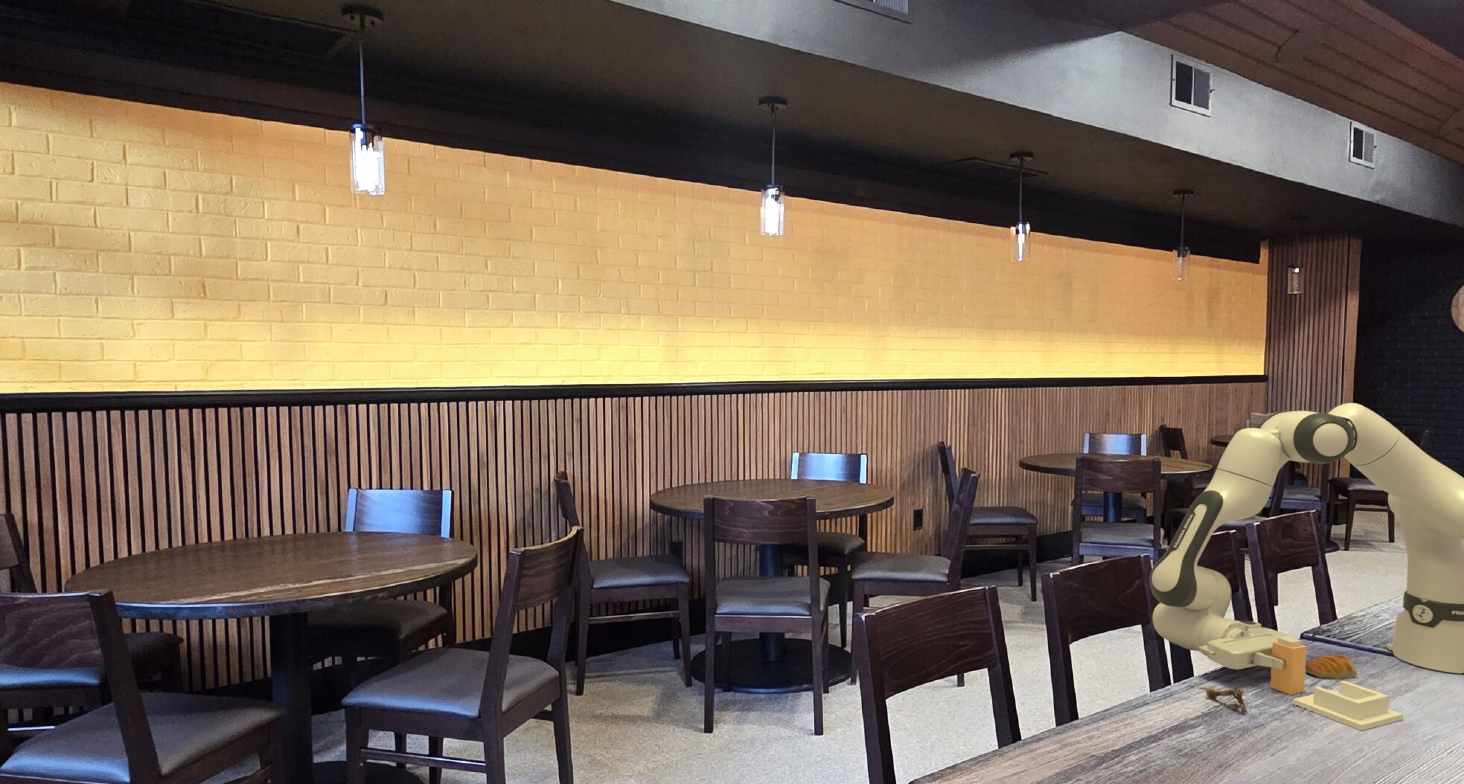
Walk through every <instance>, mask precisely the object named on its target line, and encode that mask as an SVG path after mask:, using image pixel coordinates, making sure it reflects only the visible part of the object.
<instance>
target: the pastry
mask: <svg viewBox="0 0 1464 784" xmlns="http://www.w3.org/2000/svg"><path fill="white" fill-rule="evenodd" d="M1306 673H1308V674H1310V675H1313V676H1315V677H1318V678H1321V679H1329V678H1331V680H1332V679H1333V680H1341V679H1342V680H1343V679H1352V677H1353V678H1355V677H1356V676H1357V675H1358V671H1357V670H1356V667H1355V665H1354V664H1353V661H1352V660H1351V659H1350V658H1349V657H1348V656H1346V655H1343V654H1338V655H1336V654H1332V655H1329V654H1328V655H1320V656H1316V657H1315V658H1314V659H1312V660H1311V661H1309V662H1307V663H1306V666H1305V674H1306Z"/></svg>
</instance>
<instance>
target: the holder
mask: <svg viewBox="0 0 1464 784" xmlns="http://www.w3.org/2000/svg"><path fill="white" fill-rule="evenodd" d="M1389 703H1390V695H1387V694H1385V693H1382V692H1379V691H1375V690H1373V689H1370V688H1366V687H1364V686H1361V685H1358V684H1355V683H1351V682H1349V681H1346V680H1341V681H1340V682H1339V691H1338V690H1335V689H1332V690H1331V689H1330V690H1329V689H1326V688H1323V687H1321V686H1315V687H1314V688H1313V694H1310V695H1306V696H1300V697H1296V698H1293V699H1292V705H1293V704H1294V705H1293V706H1296V705H1298V706H1300V707H1299V708H1301V707H1302V709H1304V708H1306V709H1307V711H1310V712H1311V711H1313V712H1312V713H1315V714H1317V715H1319V714H1320V715H1319V716H1322V717H1324V716H1326V717H1325V718H1327V717H1328V719H1329V720H1332V719H1333V720H1332V721H1336V722H1337V723H1339V724H1340V723H1341V724H1343V725H1346V726H1349V727H1351V728H1354V729H1356V730H1359V731H1361V732H1362V731H1365V730H1370V729H1372V728H1376V727H1380V726H1384V725H1387V724H1388V725H1389V724H1391V723H1397V722H1399V721H1403V719H1404V718H1403V717H1404V714H1402V713H1401V712H1397V711H1395V710H1392V709H1390V708H1389ZM1298 706H1297V707H1298ZM1306 709H1305V710H1306Z"/></svg>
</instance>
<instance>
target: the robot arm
mask: <svg viewBox="0 0 1464 784" xmlns="http://www.w3.org/2000/svg"><path fill="white" fill-rule="evenodd" d="M1342 458H1344V459H1346V461H1348V462H1349V463H1350V464H1351V465H1352V466H1353V467H1354V468H1355V469H1357V470H1358V471H1359V472H1360V473H1361V474H1362V475H1364V476H1365V477H1366V478H1367V479H1368V480H1370V481H1371V482H1372V483H1373V484H1374V485H1375V486H1376V487H1377V488H1379V490H1382V491H1384V492H1386V493H1387V494H1388V495H1387V503H1388V506H1389V509H1390V510H1391V512H1392V513H1393V514H1394V516H1395V517H1396V518H1397V521H1398V523H1399V527H1400V528H1401V533H1402V536H1403V540H1404V544H1405V550H1406V555H1407V577H1406V590H1405V591H1404V593H1403V597H1402V602H1403V603H1402V608H1403V609H1404V610H1403V611H1401V612H1399V613H1397V614H1396V619H1395V625H1394V631H1393V637H1392V642H1387V643H1386V647H1387V648H1388V649H1389V650H1388V649H1387V648H1386V647H1385V648H1386V649H1387V650H1388V651H1390V650H1392V651H1393V652H1392V651H1391V652H1392V654H1393V656H1395V657H1396V658H1397V659H1399V660H1401V661H1403V662H1406V663H1409V664H1411V665H1415V666H1419V667H1422V668H1425V669H1429V670H1434V671H1438V672H1445V673H1452V674H1462V673H1464V545H1463V542H1462V540H1464V477H1463V476H1461V475H1460V474H1459V473H1457V472H1456V471H1454V470H1452V469H1451V468H1449V467H1448V466H1447V465H1444V464H1443V463H1441V462H1439V461H1438V460H1436V459H1435V458H1433V457H1432V456H1430V455H1429V454H1427V452H1425V451H1423V450H1422V449H1421V448H1420V447H1419V446H1417V445H1416V444H1415V443H1414V442H1413V440H1412V441H1411V440H1410V438H1408V437H1407V436H1406V435H1405V434H1403V433H1402V432H1401V431H1400V430H1399V429H1398V428H1397V427H1395V426H1394V425H1393V424H1392V423H1390V422H1389V421H1387V420H1386V419H1385V418H1383V417H1382V416H1380V414H1377V413H1376V412H1375V411H1373V410H1371V409H1370V408H1368V407H1367V406H1366V407H1365V406H1364V405H1362V404H1359V403H1355V402H1348V403H1343V404H1340V405H1338V406H1335V407H1334V408H1332V409H1331V410H1330V411H1329V412H1328V413H1326V412H1316V411H1310V410H1297V411H1296V410H1295V411H1294V410H1293V411H1291V410H1280V411H1276V412H1273V413H1271V414H1269V415H1267V416H1266V417H1264V418H1263V420H1261V422H1259V424H1258V425H1257V426H1255V427H1247V428H1242V429H1239V430H1238V431H1237V432H1236V433H1235V434H1234V436H1232V438H1231V440H1230V441H1229V443H1228V444H1227V446H1226V448H1225V450H1224V452H1223V453H1222V456H1221V458H1220V459H1219V463H1218V465H1217V467H1216V469H1215V472H1214V474H1213V477H1212V478H1211V481H1210V483H1208V485H1207V487H1206V488H1205V489H1204V490H1203V492H1202V493H1200V494H1199V495H1197V496H1196V498H1195V499H1194V500H1193V501H1192V503H1191V505H1190V506H1189V508H1188V510H1187V512H1186V513H1185V516H1184V517H1183V519H1182V521H1181V523H1180V525H1179V526H1178V528H1177V531H1176V532H1175V534H1174V536H1173V538H1172V540H1171V541H1170V543H1169V546H1167V549H1166V550H1165V552H1164V554H1163V555H1162V556H1161V557H1160V558H1159V559H1158V561H1157V562H1156V563H1155V564H1154V565H1153V567H1152V569H1151V570H1150V573H1149V586H1150V590H1151V593H1152V596H1154V598H1155V599H1156V600H1157V602H1159V603H1158V604H1157V605H1156V606H1155V607H1154V610H1153V613H1152V624H1153V627H1154V629H1155V631H1156V632H1157V633H1158V635H1159V636H1161V637H1162V638H1163V639H1165V640H1167V641H1168V642H1170V643H1172V644H1174V645H1177V646H1179V647H1181V648H1183V649H1187V650H1189V651H1194V652H1195V651H1196V652H1199V653H1200V654H1203V656H1205V657H1207V658H1208V660H1210V661H1212V662H1214V663H1216V664H1219V665H1221V666H1223V667H1225V668H1227V669H1231V670H1237V671H1238V670H1242V669H1247V668H1251V667H1257V666H1260V667H1269V668H1271V667H1273V668H1276V669H1279V670H1280V669H1284V668H1286V660H1284V659H1281V658H1279V657H1276V658H1275V657H1272V646H1273V642H1277V641H1278V638H1280V637H1285V636H1288V637H1292V638H1295V639H1297V638H1296V637H1294V636H1291V635H1288V634H1286V633H1284V632H1280V631H1277V630H1275V629H1271V628H1268V627H1262V624H1261V623H1259V622H1256V621H1252V620H1251V621H1250V620H1235V619H1231V618H1226V617H1225V616H1226V613H1227V611H1228V608H1229V605H1230V602H1231V599H1232V591H1233V590H1232V586H1231V584H1230V582H1229V580H1228V578H1227V577H1226V576H1225V575H1224V574H1223V573H1221V572H1219V571H1216V570H1214V569H1211V568H1207V567H1204V566H1200V565H1198V562H1199V559H1200V558H1201V555H1202V553H1203V552H1204V551H1205V548H1206V547H1207V544H1208V543H1209V540H1210V538H1211V536H1212V535H1213V534H1214V532H1215V531H1216V530H1217V529H1218V528H1219V527H1221V526H1223V525H1224V524H1227V523H1230V522H1233V521H1238V520H1245V519H1248V518H1251V517H1252V518H1253V516H1256V515H1258V514H1259V513H1260V512H1261V511H1262V510H1263V508H1264V507H1265V506H1266V504H1267V503H1268V500H1269V498H1270V496H1271V493H1272V490H1273V487H1274V484H1275V482H1276V479H1277V476H1278V473H1279V471H1281V468H1282V467H1283V466H1284V465H1285V464H1286V463H1287V462H1289V461H1292V462H1297V463H1312V464H1317V465H1325V464H1331V463H1334V462H1336V461H1338V460H1341V459H1342Z"/></svg>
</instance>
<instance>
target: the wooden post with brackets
mask: <svg viewBox="0 0 1464 784" xmlns="http://www.w3.org/2000/svg"><path fill="white" fill-rule="evenodd" d="M1244 692H1245V691H1244V689H1243V688H1242V687H1239V686H1237V685H1236V686H1234V687H1233V688H1232V689H1224V690H1220V691H1219V690H1215V688H1210V689H1208V688H1207V689H1205V694H1206V698H1207V700H1216V699H1217V698H1218V697H1229V696H1230V697H1231V696H1233V698H1235V700H1236V701H1237V702H1238V703H1237V702H1236V703H1229V704H1228V708H1229V709H1230V710H1240V711H1241V713H1242V714H1244V713H1247V706H1246V704H1245V703H1244V699H1243V697H1242V695H1243V694H1244Z"/></svg>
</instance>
